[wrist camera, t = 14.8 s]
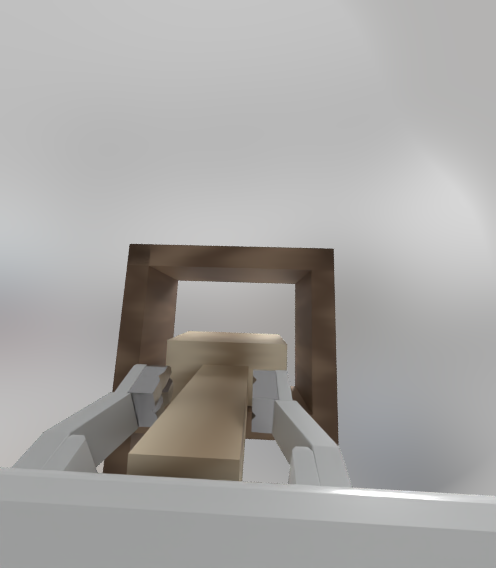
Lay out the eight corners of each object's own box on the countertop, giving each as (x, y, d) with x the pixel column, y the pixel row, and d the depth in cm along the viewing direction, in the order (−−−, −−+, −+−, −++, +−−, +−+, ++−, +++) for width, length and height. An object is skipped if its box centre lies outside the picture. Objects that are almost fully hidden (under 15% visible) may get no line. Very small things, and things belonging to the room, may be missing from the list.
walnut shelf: (73, 724, 12) (129, 243, 16) (133, 589, 18) (163, 264, 22) (345, 749, 11) (333, 248, 15) (314, 602, 17) (311, 268, 21)
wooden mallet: (27, 549, 6) (43, 391, 6) (186, 377, 20) (188, 331, 20) (335, 570, 6) (335, 404, 6) (278, 381, 20) (279, 334, 20)
